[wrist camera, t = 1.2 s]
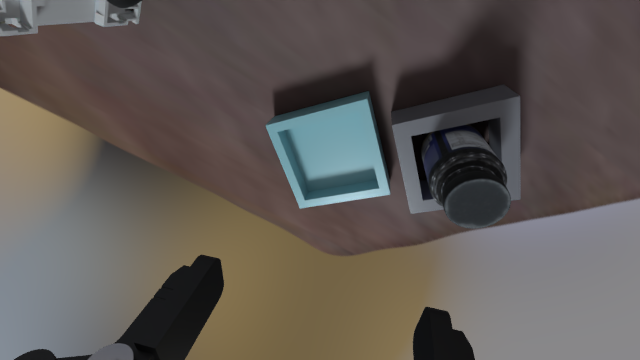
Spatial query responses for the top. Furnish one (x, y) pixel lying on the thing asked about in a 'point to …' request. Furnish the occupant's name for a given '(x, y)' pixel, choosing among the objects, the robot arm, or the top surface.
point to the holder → (453, 112)
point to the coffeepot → (124, 3)
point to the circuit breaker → (61, 14)
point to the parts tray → (331, 151)
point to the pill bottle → (465, 176)
